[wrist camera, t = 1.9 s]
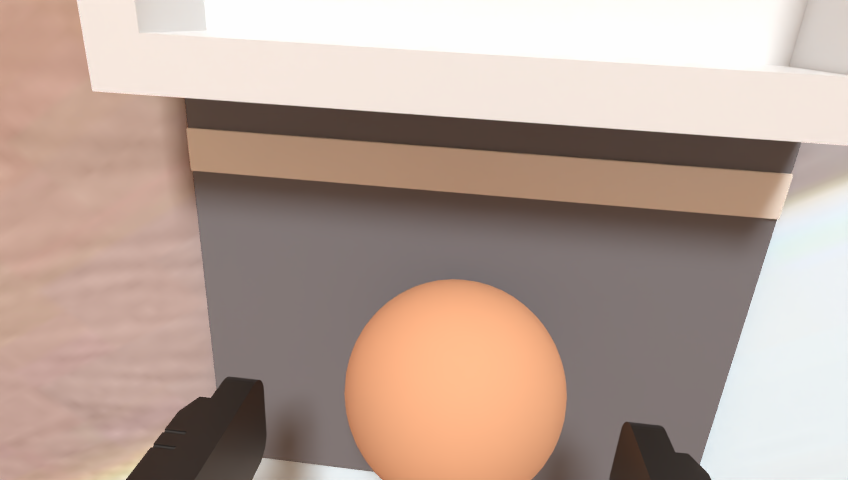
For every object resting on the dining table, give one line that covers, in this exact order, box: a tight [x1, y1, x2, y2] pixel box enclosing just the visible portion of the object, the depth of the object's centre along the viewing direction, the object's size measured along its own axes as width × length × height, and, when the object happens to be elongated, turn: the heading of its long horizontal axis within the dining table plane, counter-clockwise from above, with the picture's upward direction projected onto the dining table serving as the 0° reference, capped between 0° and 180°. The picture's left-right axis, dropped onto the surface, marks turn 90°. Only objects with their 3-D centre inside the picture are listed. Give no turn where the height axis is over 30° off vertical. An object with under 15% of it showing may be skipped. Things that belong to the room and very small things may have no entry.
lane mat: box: [185, 98, 801, 480], centre depth 13 cm, size 16×30×1 cm, turn 177°
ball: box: [344, 279, 567, 480], centre depth 14 cm, size 6×6×6 cm
